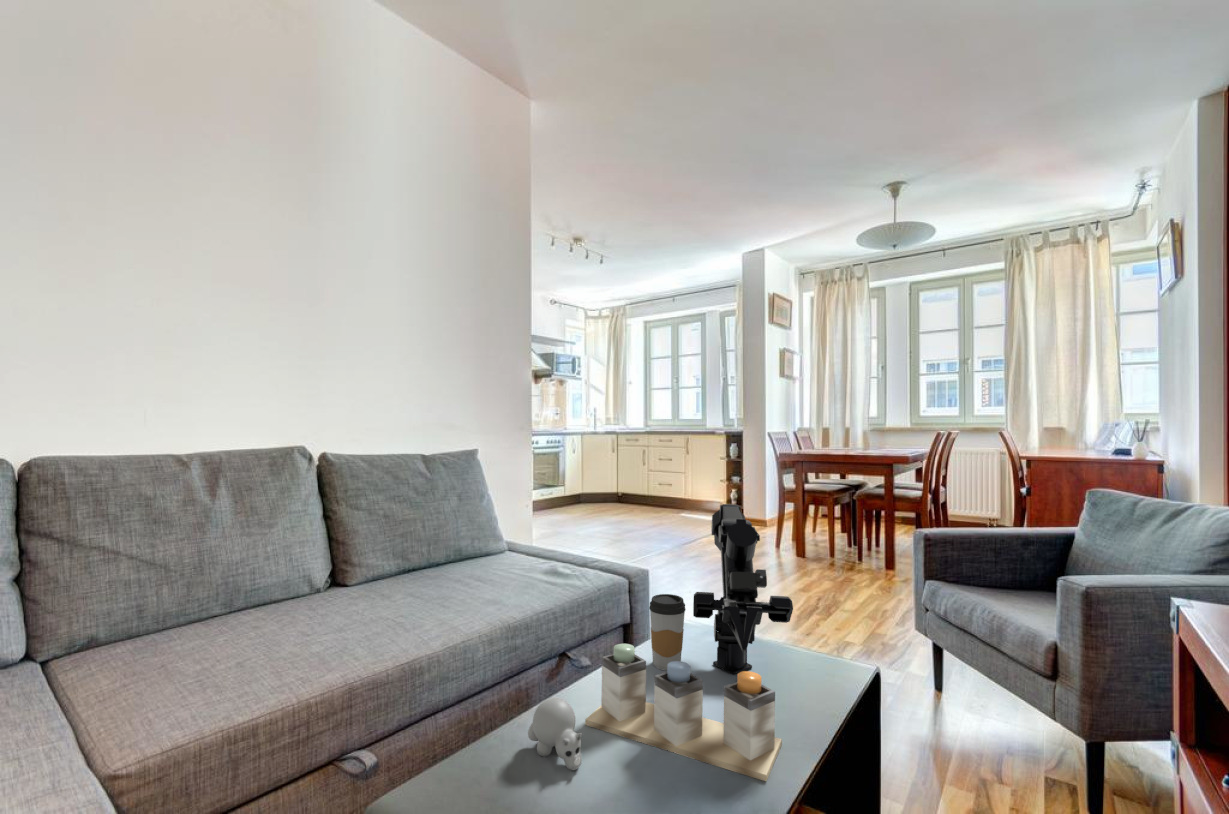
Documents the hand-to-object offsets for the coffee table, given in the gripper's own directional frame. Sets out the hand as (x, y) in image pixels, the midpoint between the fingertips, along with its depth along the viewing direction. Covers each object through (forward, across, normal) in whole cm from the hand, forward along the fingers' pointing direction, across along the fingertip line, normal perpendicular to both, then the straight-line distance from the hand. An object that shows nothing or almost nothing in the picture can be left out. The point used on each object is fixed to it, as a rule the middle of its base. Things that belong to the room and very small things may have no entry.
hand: (744, 650), depth 105 cm
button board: (+13, -12, +6) cm, 19 cm away
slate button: (+7, -12, -2) cm, 14 cm away
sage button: (+2, -22, +2) cm, 23 cm away
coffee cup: (-7, -15, +27) cm, 31 cm away
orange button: (+8, 0, -4) cm, 9 cm away
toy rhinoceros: (+20, -32, 0) cm, 38 cm away
